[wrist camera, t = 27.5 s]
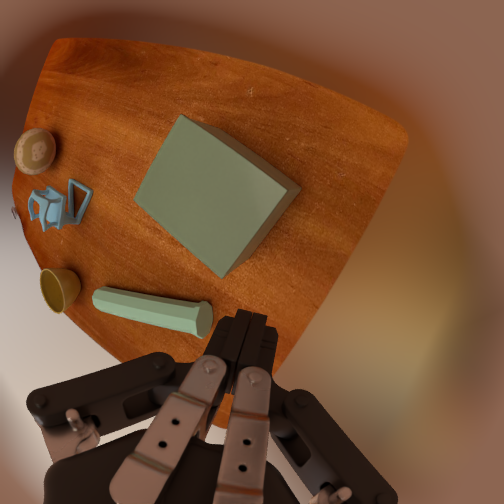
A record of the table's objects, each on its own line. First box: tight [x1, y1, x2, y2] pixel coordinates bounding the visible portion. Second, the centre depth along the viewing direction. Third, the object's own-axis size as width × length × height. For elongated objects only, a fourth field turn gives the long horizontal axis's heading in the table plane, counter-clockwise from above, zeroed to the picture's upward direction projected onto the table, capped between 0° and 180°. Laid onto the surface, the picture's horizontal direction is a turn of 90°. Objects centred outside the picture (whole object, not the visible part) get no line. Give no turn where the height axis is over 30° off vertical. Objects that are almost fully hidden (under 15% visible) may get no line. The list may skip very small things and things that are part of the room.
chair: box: [28, 179, 93, 232], centre depth 46 cm, size 8×8×12 cm
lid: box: [134, 114, 289, 279], centre depth 33 cm, size 16×13×1 cm
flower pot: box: [40, 268, 81, 314], centre depth 55 cm, size 10×10×7 cm
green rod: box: [92, 286, 213, 339], centre depth 49 cm, size 6×6×25 cm
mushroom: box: [14, 128, 56, 175], centre depth 49 cm, size 10×11×15 cm
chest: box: [191, 119, 302, 276], centre depth 37 cm, size 15×13×9 cm
